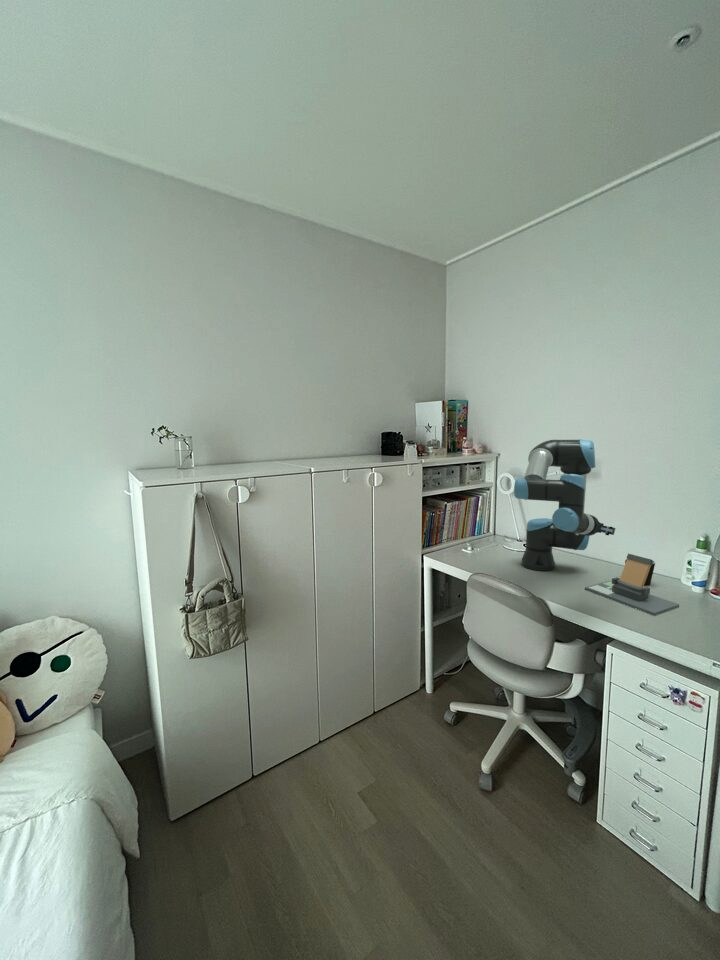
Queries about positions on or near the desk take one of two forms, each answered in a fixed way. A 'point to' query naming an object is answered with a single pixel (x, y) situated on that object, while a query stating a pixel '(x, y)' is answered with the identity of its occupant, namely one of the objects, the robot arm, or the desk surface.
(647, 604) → the switch unit
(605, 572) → the desk surface
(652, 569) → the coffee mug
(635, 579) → the paddle lever
